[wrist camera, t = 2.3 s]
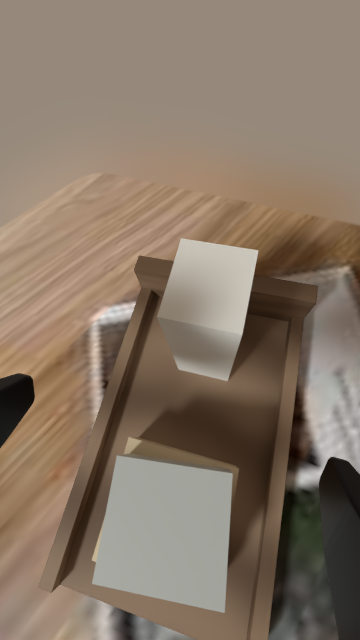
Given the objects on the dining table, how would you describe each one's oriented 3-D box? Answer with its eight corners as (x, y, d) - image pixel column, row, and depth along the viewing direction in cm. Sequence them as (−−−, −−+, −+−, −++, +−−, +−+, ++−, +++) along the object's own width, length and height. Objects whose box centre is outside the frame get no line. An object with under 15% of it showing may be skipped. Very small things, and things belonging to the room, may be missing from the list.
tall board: (227, 381, 20) (242, 334, 11) (178, 369, 21) (156, 316, 12) (238, 328, 21) (258, 250, 13) (191, 318, 22) (181, 238, 13)
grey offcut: (222, 584, 14) (224, 612, 12) (110, 561, 15) (91, 583, 12) (229, 468, 16) (232, 473, 14) (129, 453, 17) (116, 455, 14)
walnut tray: (256, 651, 15) (274, 728, 11) (55, 572, 18) (9, 612, 13) (297, 314, 23) (317, 285, 18) (150, 286, 25) (139, 255, 21)
